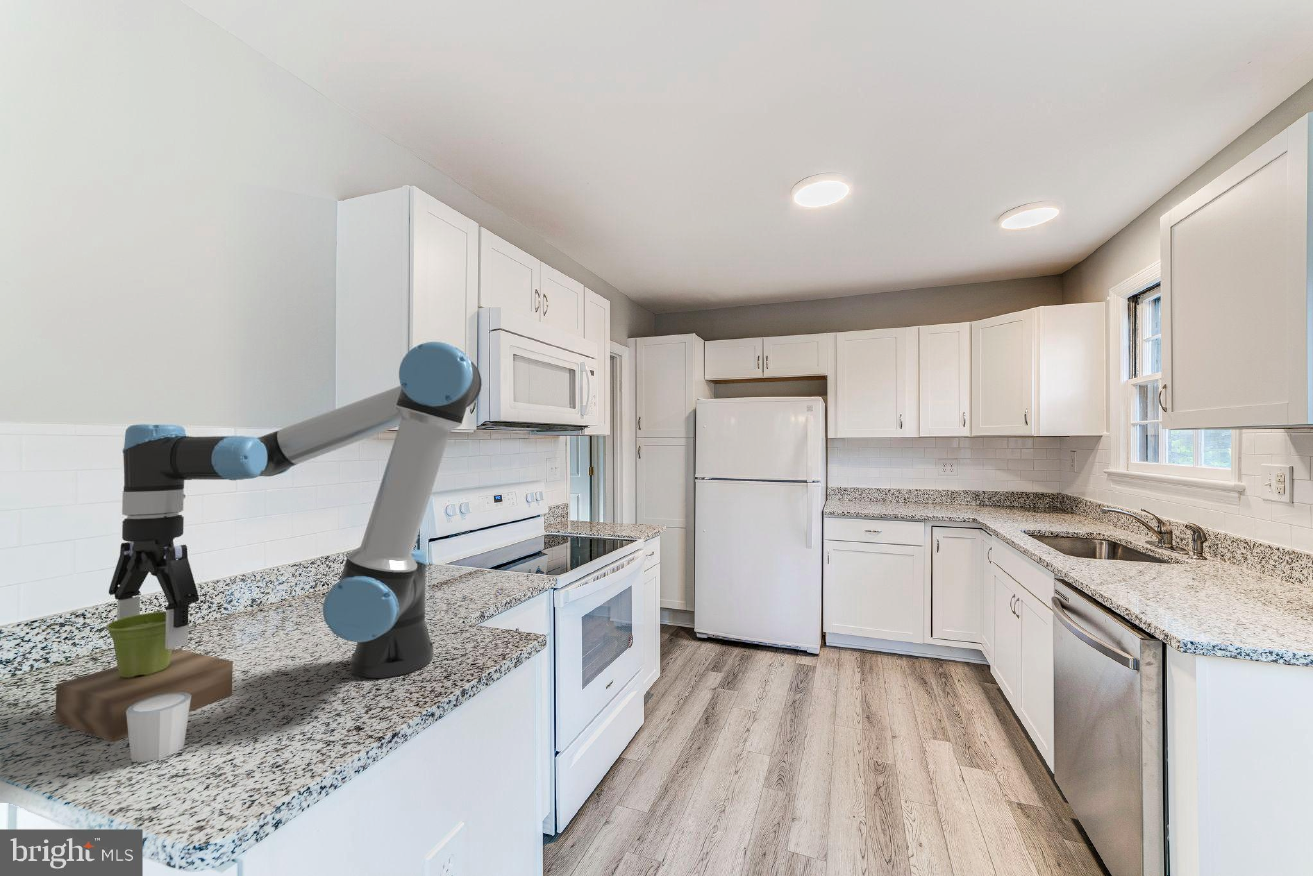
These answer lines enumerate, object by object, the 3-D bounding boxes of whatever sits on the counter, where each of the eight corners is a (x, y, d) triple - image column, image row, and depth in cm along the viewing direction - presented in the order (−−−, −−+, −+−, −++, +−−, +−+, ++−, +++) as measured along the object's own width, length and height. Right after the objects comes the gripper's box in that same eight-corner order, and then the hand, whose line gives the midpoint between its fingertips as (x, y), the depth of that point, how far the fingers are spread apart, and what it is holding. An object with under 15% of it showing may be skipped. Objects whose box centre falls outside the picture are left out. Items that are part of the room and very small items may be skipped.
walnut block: (231, 695, 93) (232, 661, 93) (113, 742, 78) (114, 701, 78) (176, 681, 99) (176, 648, 99) (55, 722, 84) (56, 684, 84)
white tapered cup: (125, 750, 76) (126, 701, 76) (188, 733, 81) (189, 687, 81) (124, 771, 71) (125, 719, 71) (191, 751, 76) (193, 702, 76)
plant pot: (133, 685, 84) (135, 630, 84) (88, 680, 85) (89, 626, 86) (195, 662, 93) (197, 613, 93) (153, 658, 95) (155, 609, 95)
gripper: (226, 515, 88) (224, 642, 88) (138, 510, 97) (136, 626, 97) (172, 521, 81) (170, 659, 81) (82, 515, 90) (80, 639, 90)
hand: (151, 641), depth 89 cm, fingers open, 13 cm apart
